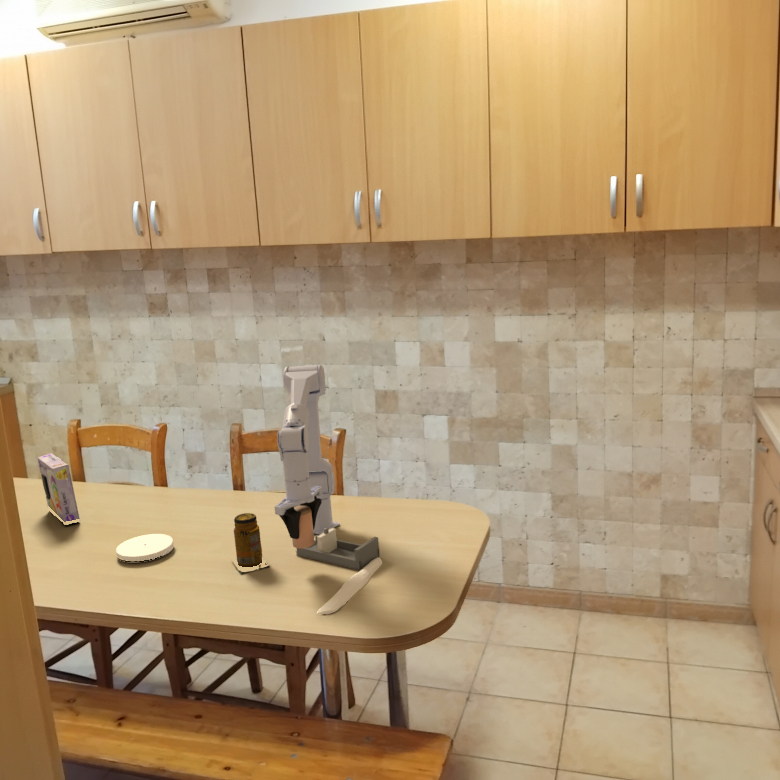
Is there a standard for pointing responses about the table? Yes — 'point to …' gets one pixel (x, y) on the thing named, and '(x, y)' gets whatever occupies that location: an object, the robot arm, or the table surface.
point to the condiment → (247, 540)
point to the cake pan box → (58, 487)
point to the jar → (304, 528)
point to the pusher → (327, 540)
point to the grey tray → (344, 553)
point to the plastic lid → (145, 547)
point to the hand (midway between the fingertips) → (302, 533)
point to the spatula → (350, 587)
